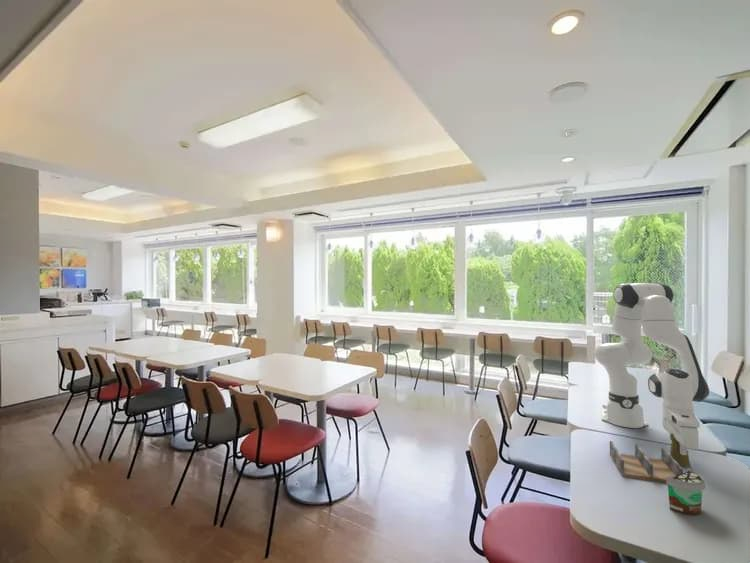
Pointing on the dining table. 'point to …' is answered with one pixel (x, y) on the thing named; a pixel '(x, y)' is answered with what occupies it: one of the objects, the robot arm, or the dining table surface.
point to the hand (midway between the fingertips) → (679, 450)
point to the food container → (686, 492)
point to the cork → (680, 459)
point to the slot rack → (645, 465)
